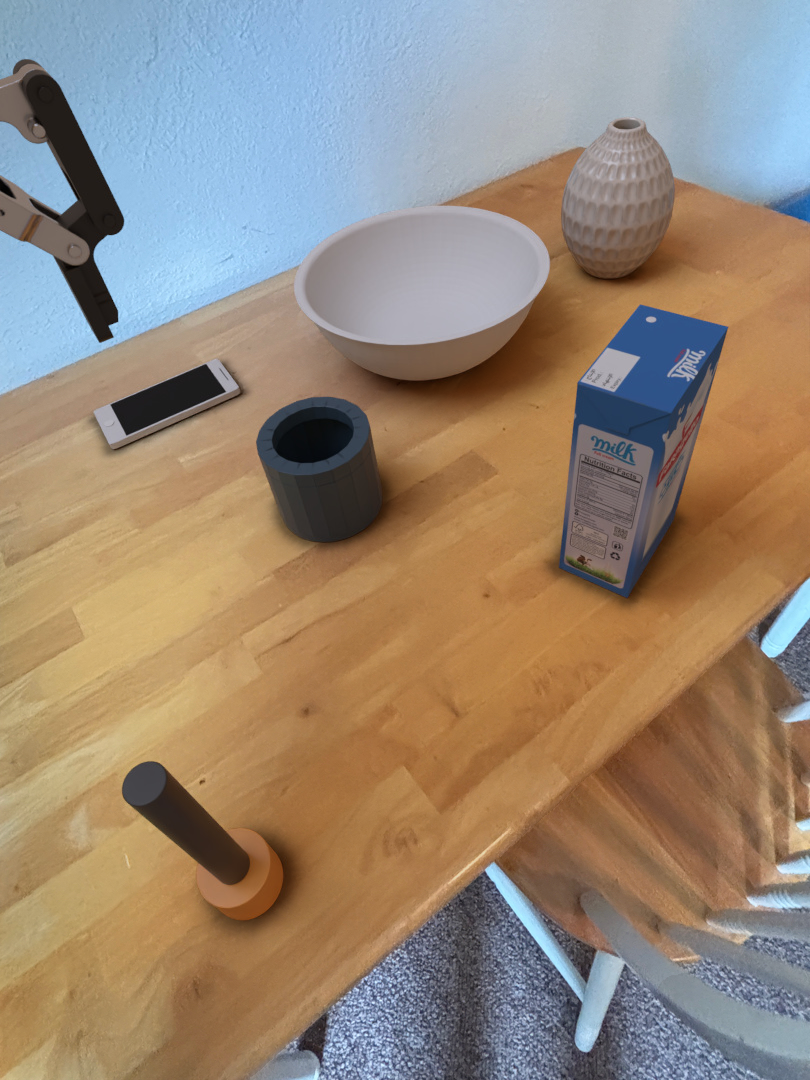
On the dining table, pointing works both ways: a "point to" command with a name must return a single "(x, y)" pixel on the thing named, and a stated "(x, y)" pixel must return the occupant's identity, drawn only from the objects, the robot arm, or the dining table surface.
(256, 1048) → the dining table surface
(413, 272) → the bowl
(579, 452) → the milk carton
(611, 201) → the vase
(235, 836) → the plunger
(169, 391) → the smartphone
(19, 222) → the robot arm
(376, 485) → the jar
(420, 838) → the dining table surface
